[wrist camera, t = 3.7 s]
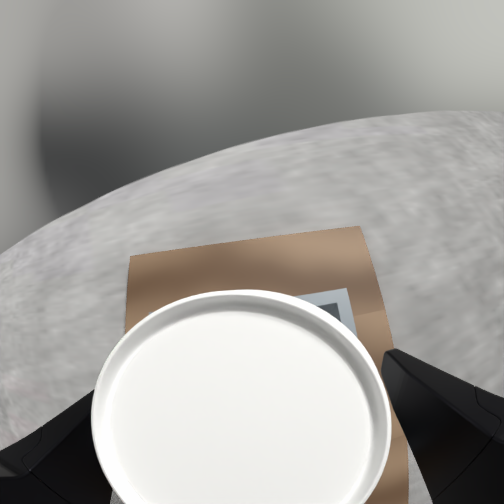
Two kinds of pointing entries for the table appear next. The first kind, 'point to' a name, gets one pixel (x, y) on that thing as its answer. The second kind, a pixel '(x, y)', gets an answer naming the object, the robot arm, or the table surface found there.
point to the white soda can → (241, 406)
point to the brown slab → (285, 282)
